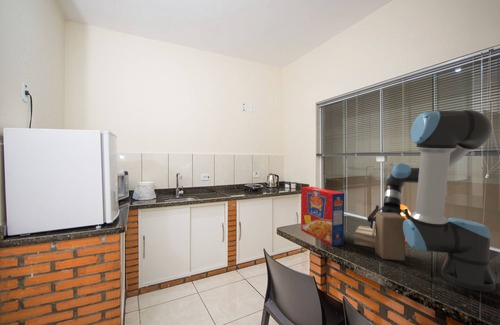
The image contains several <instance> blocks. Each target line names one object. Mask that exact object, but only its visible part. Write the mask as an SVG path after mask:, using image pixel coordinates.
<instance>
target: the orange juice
mask: <svg viewBox="0 0 500 325" xmlns="http://www.w3.org/2000/svg"><path fill="white" fill-rule="evenodd" d="M400 208H401V210H405V209H408V213H409V215H410V214H411V213H412V212H411V211H410V209H409V208H408V206H406V205H404V204H401V207H400ZM400 214H401V215H402V217H404V218H405V219H406V220H407V218H406V216H405V214H403V213H402V212H401V213H400ZM405 243H407V242H406V238H405Z"/></svg>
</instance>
